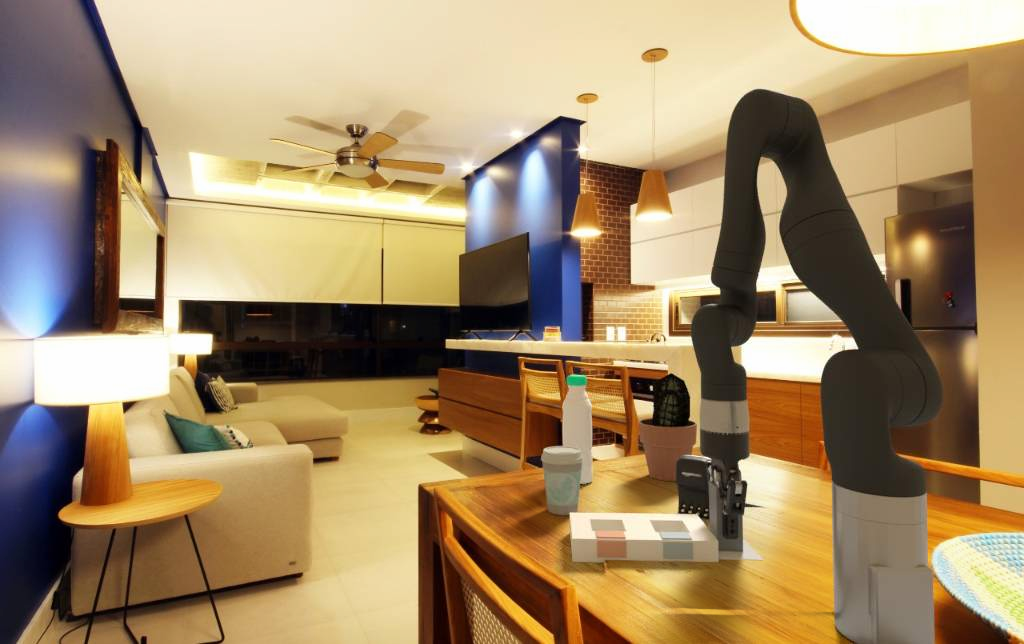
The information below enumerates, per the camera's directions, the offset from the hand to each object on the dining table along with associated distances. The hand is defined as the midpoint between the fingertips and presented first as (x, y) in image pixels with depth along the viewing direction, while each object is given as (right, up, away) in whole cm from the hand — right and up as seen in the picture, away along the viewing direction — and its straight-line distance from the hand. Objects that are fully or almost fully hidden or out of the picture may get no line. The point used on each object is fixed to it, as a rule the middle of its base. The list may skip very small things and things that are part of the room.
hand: (725, 532), depth 88 cm
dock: (-14, -3, +1) cm, 14 cm away
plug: (0, -2, 0) cm, 2 cm away
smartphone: (+11, -4, +18) cm, 22 cm away
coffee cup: (-25, -4, +20) cm, 32 cm away
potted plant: (+3, -4, +44) cm, 44 cm away
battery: (0, -3, +15) cm, 15 cm away
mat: (0, -3, 0) cm, 3 cm away
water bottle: (-19, -4, +40) cm, 45 cm away
